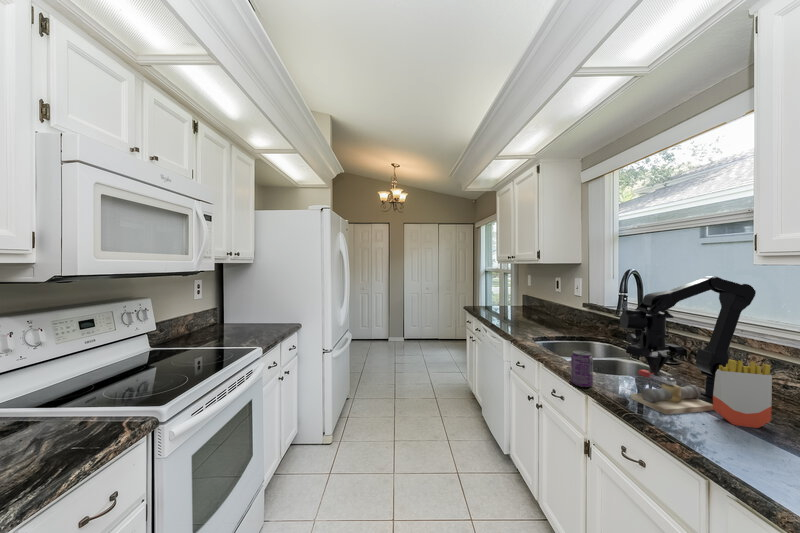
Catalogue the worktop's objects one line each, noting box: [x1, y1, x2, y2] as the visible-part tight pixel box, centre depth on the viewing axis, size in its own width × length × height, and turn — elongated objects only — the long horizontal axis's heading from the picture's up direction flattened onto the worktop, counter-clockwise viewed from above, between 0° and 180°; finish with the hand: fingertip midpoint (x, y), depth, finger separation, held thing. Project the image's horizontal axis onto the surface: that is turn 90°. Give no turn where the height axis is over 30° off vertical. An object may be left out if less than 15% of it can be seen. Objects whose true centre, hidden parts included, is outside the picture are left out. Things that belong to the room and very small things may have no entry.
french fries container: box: [712, 358, 773, 429], centre depth 93 cm, size 5×11×18 cm, turn 73°
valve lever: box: [638, 368, 677, 386], centre depth 110 cm, size 12×2×2 cm, turn 11°
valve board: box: [630, 382, 715, 415], centre depth 106 cm, size 18×12×6 cm, turn 101°
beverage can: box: [570, 350, 594, 388], centre depth 122 cm, size 7×7×12 cm
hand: (654, 374), depth 115 cm, fingers closed
